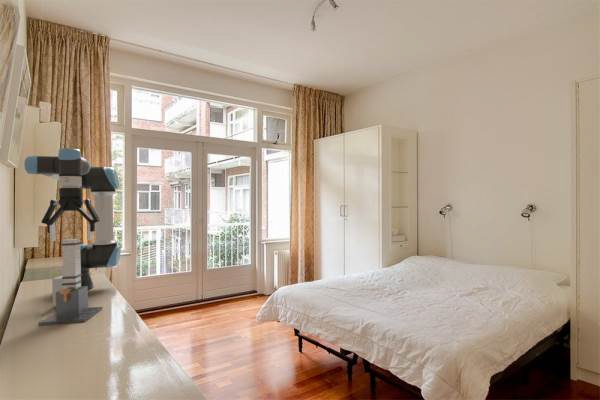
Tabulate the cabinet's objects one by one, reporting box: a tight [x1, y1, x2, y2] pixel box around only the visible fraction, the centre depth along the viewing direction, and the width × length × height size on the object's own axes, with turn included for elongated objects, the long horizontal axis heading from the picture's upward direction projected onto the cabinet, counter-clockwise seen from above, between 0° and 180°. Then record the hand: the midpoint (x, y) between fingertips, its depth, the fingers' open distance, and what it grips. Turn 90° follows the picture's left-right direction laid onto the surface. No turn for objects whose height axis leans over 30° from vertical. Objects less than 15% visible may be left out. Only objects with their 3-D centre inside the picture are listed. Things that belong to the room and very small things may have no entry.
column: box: [60, 238, 82, 290], centre depth 136 cm, size 5×5×22 cm
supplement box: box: [51, 275, 63, 308], centre depth 153 cm, size 7×7×13 cm
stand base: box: [38, 286, 103, 326], centre depth 136 cm, size 16×16×12 cm
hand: (71, 240), depth 137 cm, fingers open, 13 cm apart
